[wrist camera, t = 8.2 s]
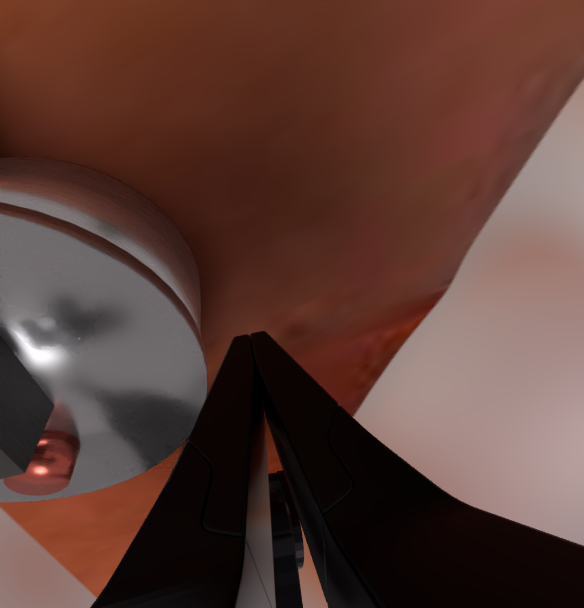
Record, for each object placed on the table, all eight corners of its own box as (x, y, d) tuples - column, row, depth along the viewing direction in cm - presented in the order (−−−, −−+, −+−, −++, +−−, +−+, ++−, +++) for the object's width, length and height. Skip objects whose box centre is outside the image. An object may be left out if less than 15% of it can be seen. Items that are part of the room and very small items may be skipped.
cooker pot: (220, 353, 26) (226, 431, 20) (8, 397, 24) (-52, 498, 18) (131, 24, 15) (86, -7, 9) (-288, 55, 13) (-686, 41, 7)
